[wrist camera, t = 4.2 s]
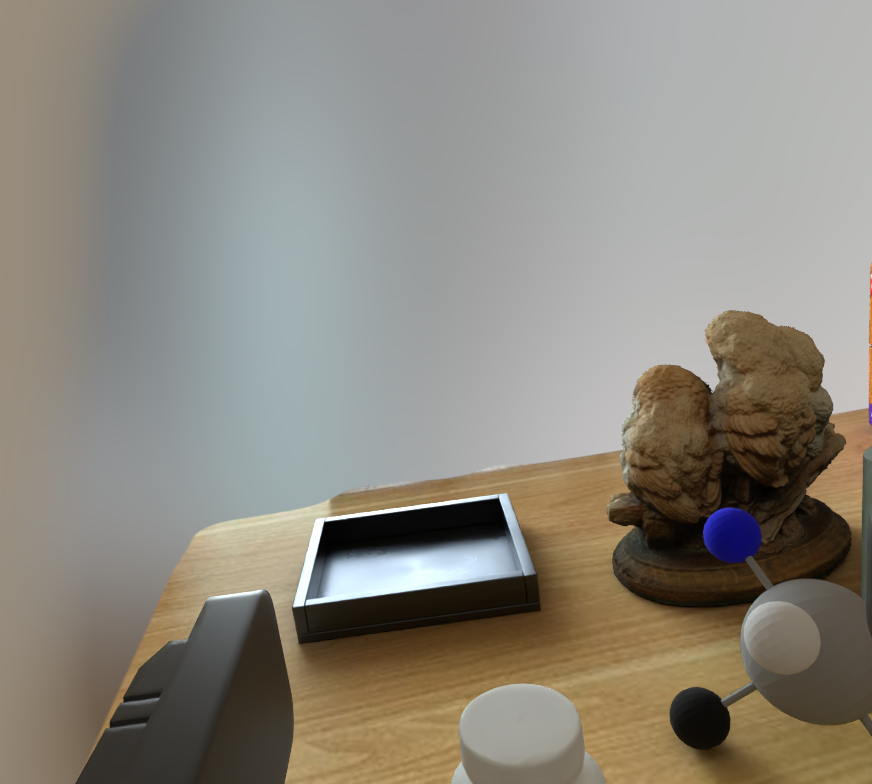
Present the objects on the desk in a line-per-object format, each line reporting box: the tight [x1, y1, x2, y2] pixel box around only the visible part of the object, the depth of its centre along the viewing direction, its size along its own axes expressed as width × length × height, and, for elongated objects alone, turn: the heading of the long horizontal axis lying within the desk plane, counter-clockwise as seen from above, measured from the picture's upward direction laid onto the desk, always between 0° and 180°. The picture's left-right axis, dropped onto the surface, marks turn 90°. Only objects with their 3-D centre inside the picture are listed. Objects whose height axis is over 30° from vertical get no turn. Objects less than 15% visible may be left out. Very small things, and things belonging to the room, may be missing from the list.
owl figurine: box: [606, 310, 851, 607], centre depth 50 cm, size 18×12×17 cm, turn 112°
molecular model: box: [670, 508, 872, 750], centre depth 34 cm, size 11×13×10 cm
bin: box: [292, 493, 541, 643], centre depth 55 cm, size 16×14×3 cm
